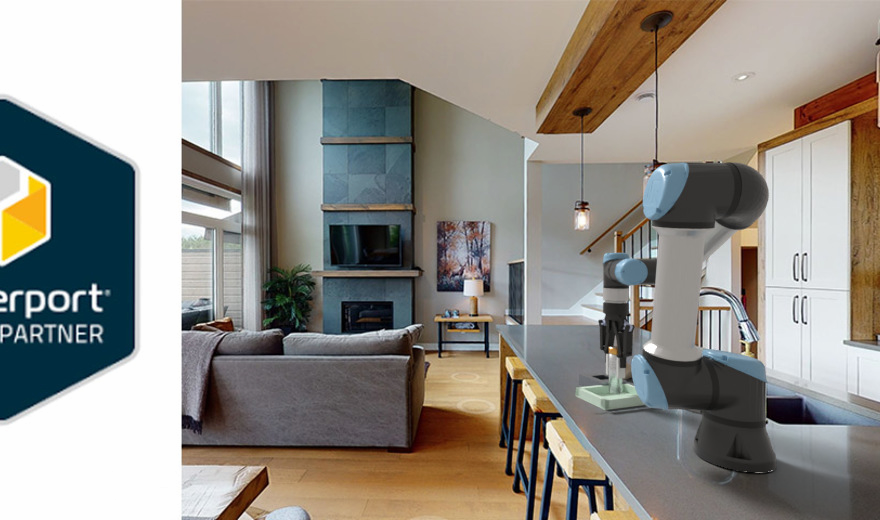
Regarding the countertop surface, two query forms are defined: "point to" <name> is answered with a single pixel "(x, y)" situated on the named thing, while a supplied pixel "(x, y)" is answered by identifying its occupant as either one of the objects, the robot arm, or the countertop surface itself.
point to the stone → (628, 372)
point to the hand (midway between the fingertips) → (615, 375)
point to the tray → (609, 396)
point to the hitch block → (595, 379)
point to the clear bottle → (614, 372)
